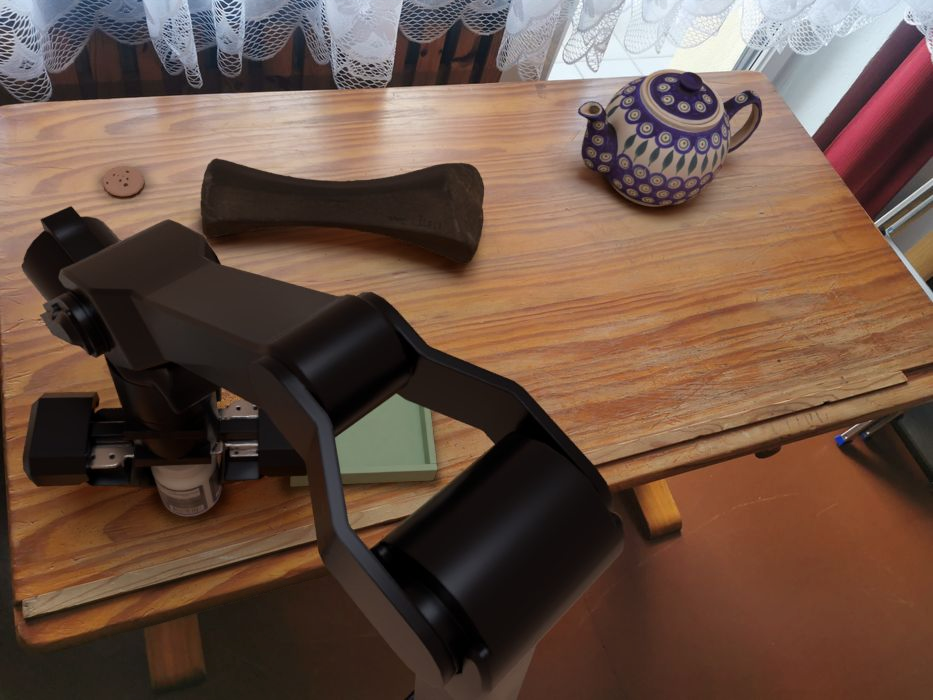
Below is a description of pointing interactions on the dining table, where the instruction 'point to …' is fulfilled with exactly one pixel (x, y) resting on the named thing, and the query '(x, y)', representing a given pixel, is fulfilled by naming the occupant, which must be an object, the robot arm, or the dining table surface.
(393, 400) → the tray
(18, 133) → the dining table surface
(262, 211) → the dark brown bone
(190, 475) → the pill bottle
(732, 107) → the teapot
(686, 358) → the dining table surface
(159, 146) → the dining table surface
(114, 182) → the cookie
